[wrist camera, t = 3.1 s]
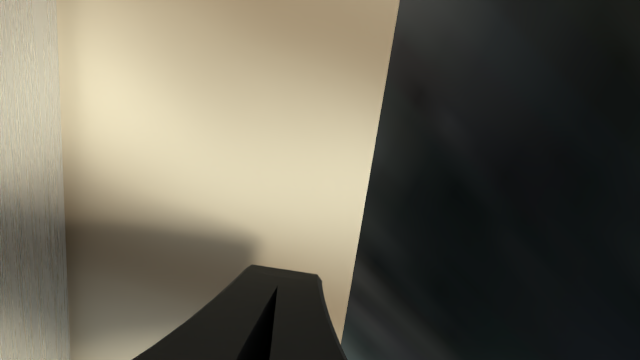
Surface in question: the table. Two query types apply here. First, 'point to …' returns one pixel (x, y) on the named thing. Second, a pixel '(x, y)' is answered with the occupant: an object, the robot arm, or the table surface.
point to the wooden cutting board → (211, 153)
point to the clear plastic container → (31, 186)
